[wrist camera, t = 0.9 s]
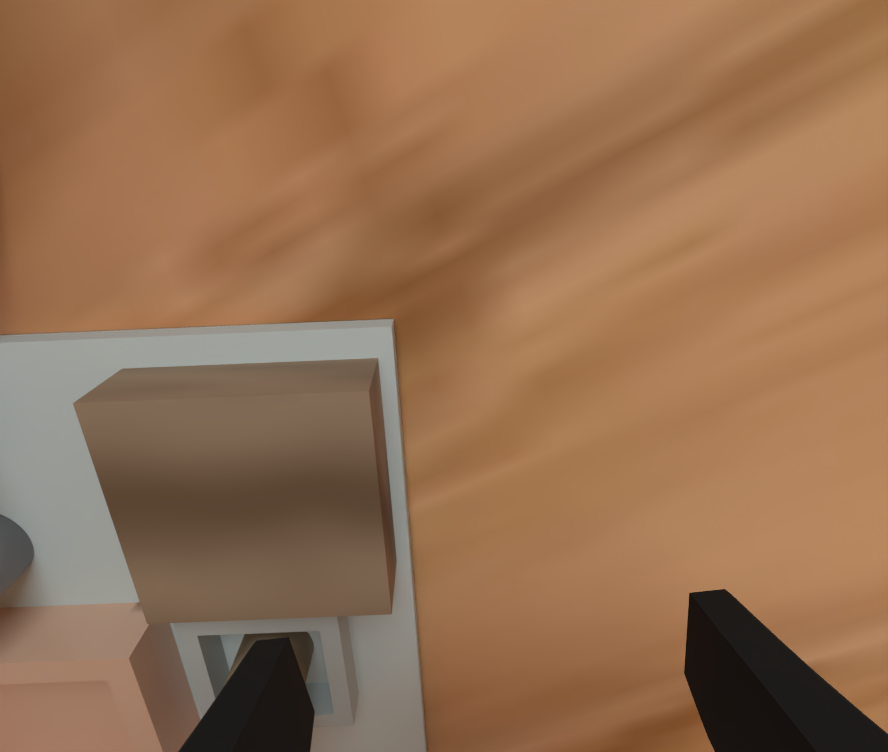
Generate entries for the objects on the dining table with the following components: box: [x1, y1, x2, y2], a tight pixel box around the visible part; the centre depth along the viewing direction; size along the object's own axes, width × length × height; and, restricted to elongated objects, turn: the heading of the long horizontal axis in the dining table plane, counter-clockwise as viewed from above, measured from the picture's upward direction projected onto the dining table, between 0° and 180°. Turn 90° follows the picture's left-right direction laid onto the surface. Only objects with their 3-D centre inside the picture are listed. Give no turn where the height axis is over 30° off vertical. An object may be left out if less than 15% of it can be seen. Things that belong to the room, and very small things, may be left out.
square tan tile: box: [73, 358, 397, 624], centre depth 17 cm, size 8×8×2 cm
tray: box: [0, 602, 200, 752], centre depth 21 cm, size 10×10×2 cm
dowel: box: [224, 631, 314, 686], centre depth 18 cm, size 3×3×7 cm
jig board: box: [0, 319, 427, 752], centre depth 19 cm, size 21×20×5 cm
